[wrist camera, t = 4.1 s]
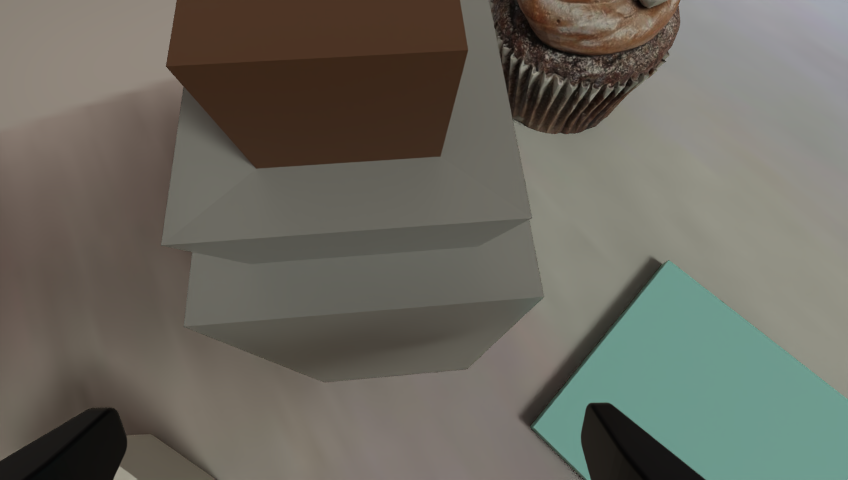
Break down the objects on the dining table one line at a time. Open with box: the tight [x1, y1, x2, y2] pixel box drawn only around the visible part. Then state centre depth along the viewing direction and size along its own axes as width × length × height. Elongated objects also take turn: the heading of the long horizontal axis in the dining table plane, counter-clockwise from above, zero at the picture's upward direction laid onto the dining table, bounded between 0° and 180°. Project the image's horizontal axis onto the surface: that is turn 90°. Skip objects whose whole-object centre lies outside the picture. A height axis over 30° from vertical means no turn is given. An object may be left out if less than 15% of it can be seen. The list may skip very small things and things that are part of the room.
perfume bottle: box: [161, 0, 544, 382], centre depth 14 cm, size 7×7×18 cm
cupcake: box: [490, 0, 680, 134], centre depth 23 cm, size 10×10×10 cm
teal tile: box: [530, 260, 848, 480], centre depth 20 cm, size 11×11×1 cm
